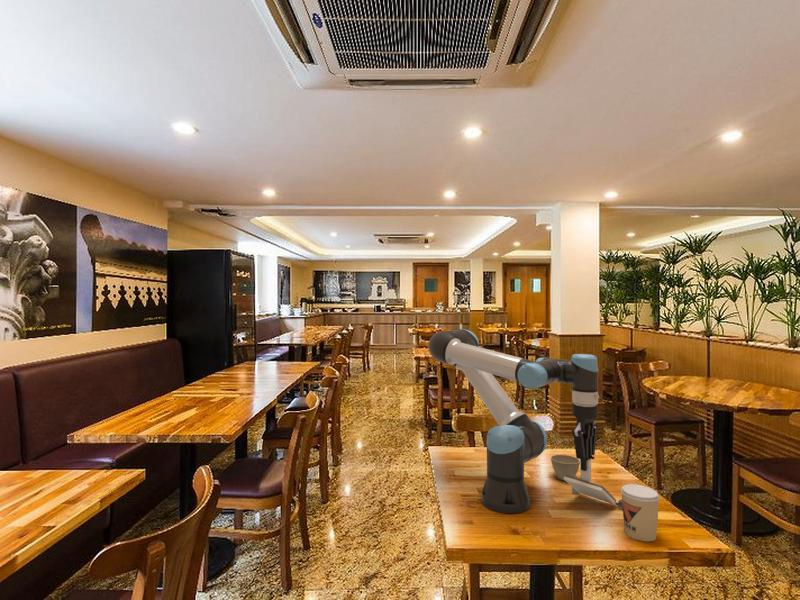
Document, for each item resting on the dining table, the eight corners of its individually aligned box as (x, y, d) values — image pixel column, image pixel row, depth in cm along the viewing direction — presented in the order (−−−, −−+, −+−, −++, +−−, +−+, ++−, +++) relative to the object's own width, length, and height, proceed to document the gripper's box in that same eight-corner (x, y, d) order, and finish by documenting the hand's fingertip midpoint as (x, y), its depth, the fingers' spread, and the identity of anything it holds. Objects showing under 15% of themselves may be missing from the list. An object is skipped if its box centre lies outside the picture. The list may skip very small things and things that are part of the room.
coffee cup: (614, 526, 125) (614, 484, 125) (645, 524, 125) (645, 483, 126) (634, 543, 116) (633, 498, 116) (667, 542, 116) (667, 497, 116)
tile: (616, 500, 136) (615, 505, 136) (579, 488, 145) (578, 492, 145) (602, 486, 130) (601, 491, 129) (564, 474, 139) (563, 478, 138)
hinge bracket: (623, 510, 134) (623, 502, 134) (572, 492, 147) (572, 485, 147) (626, 508, 136) (626, 500, 136) (575, 491, 148) (575, 484, 148)
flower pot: (584, 484, 154) (584, 464, 154) (556, 484, 154) (556, 463, 154) (573, 473, 164) (573, 454, 164) (547, 473, 164) (547, 454, 164)
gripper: (587, 409, 129) (588, 489, 128) (606, 402, 137) (607, 477, 137) (563, 405, 134) (564, 482, 134) (583, 399, 143) (583, 471, 143)
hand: (585, 479), depth 135 cm, fingers closed
